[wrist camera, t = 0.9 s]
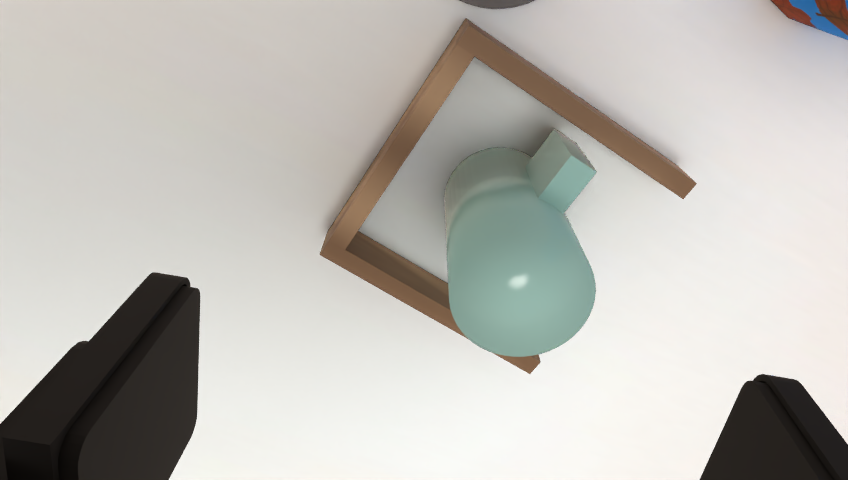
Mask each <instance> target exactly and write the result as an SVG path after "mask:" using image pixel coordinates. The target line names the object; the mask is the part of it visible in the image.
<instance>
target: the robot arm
mask: <svg viewBox="0 0 848 480" xmlns="http://www.w3.org/2000/svg"><path fill="white" fill-rule="evenodd" d="M199 321H200V292H199V289H198V288H192V287H190V282H189V279H188V278H185V277H179V276H173V275H167V274H161V273H151V274H150V275H149V276H148V277H147V278H146V279H145V280H144V281H143V282H142V283H141V284H140V286H139V287H138V288H137V289H136V290H135V291H134V292H133V293H132V294H131V296H130V297H129V298H128V299H127V300H126V301H125V302H124V303H123V304H122V305H121V307H120V308H119V309H118V310H117V311H116V312H115V313H114V314H113V315H112V316H111V318H110V319H109V320H108V321H107V322H106V323H105V324H104V325H103V326H102V327H101V329H100V330H99V331H98V332H97V333H96V334H95V335H94V336H93V337H92V339H91V340H90V341H89V342H88V341H82V342H78V343H77V344H76V345H75V346H73V347H72V348H71V349H70V350H69V351H68V352H67V353H66V354H65V356H64V357H63V358H62V359H61V360H60V361H59V362H58V363H57V364H56V365H55V366H54V367H53V368H52V369H51V370H50V372H49V373H48V374H47V375H46V376H45V377H44V378H43V379H42V380H41V381H40V382H39V383H38V384H37V385H36V387H35V388H34V389H33V390H32V391H31V392H30V393H29V394H28V395H27V396H26V397H25V398H24V399H23V400H22V402H21V403H20V404H19V405H18V406H17V407H16V408H15V409H14V410H13V411H12V412H11V413H10V414H9V415H8V416H7V418H6V419H5V420H4V421H3V422H2V423H1V424H0V480H169V478H170V476H171V474H172V472H173V470H174V468H175V466H176V465H177V463H178V461H179V459H180V457H181V455H182V453H183V451H184V449H185V448H186V446H187V444H188V442H189V440H190V438H191V436H192V434H193V431H194V428H195V424H196V419H197V398H198V360H199ZM700 480H848V444H847V443H846V442H845V440H844V439H843V438H842V436H841V435H840V434H839V433H838V431H837V430H836V429H835V427H834V426H833V425H832V423H831V422H830V421H829V419H828V418H827V417H826V416H825V414H824V413H823V412H822V410H821V409H820V408H819V406H818V405H817V404H816V403H815V401H814V400H813V399H812V397H811V396H810V395H809V393H808V392H807V391H806V389H805V388H804V387H803V386H802V384H801V383H800V382H798V381H797V380H794V379H788V378H782V377H777V376H771V375H765V374H761V375H758V376H757V377H756V378H755V379H754V380H753V381H747V382H746V383H745V384H744V385H743V387H742V388H741V391H740V393H739V395H738V397H737V399H736V401H735V404H734V406H733V408H732V410H731V412H730V415H729V417H728V419H727V421H726V423H725V426H724V428H723V430H722V432H721V434H720V437H719V439H718V441H717V443H716V445H715V447H714V450H713V452H712V454H711V456H710V458H709V461H708V463H707V465H706V467H705V469H704V472H703V474H702V476H701V478H700Z"/></svg>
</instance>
